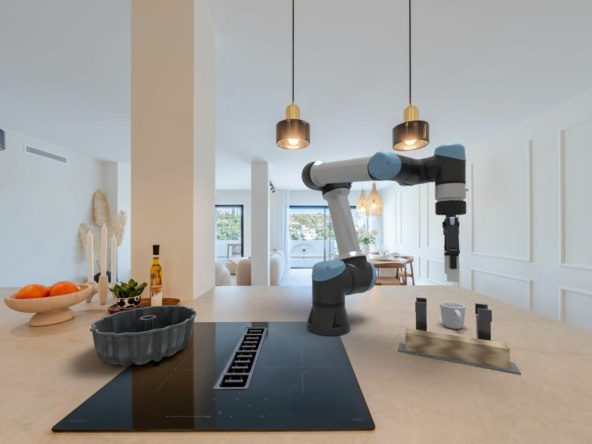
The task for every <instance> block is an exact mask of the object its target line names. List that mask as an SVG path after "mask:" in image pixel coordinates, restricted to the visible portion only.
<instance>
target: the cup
mask: <svg viewBox="0 0 592 444" xmlns="http://www.w3.org/2000/svg"><path fill="white" fill-rule="evenodd" d="M439 307H440V308H439V309H440V315H441V321H442V325H443V326H444V327H446V328H448V329H453V330H462V328H463V327H464V325H465V315H466V306H465V304H463V303H459V302H454V301H443V302H440V303H439Z"/></svg>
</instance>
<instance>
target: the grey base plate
mask: <svg viewBox="0 0 592 444" xmlns="http://www.w3.org/2000/svg"><path fill="white" fill-rule="evenodd" d="M397 352H399V353H405V354H410V355H416V356H421V357H426V358H431V359H436V360H441V361H446V362H447V361H448V362H452V363H458V364H462V365H467V366H468V365H469V366H474V367H479V368H483V369H490V370H493V371H494V370H495V371H500V372H505V373H512V374H516V375H522V372H521V371H520V369H519V367H518V366H517V365H516V363H515V362H513V361H510V369H504V368H499V367H493V366H488V365H483V364H477V363H472V362H466V361H461V360H455V359H450V358H445V357H439V356H434V355H428V354H423V353H418V352H412V351H407V350H405V343H404V342H399V343H398V347H397Z"/></svg>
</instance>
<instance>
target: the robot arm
mask: <svg viewBox="0 0 592 444" xmlns="http://www.w3.org/2000/svg"><path fill="white" fill-rule="evenodd" d="M466 163H467V159H466V147H465V146H464V145H463V144H461V143H457V142H455V143H454V142H453V143H452V142H451V143H446V144H445V143H444V144H441V145H439V146H437V147H436V148H434V153H433V155H431V156H428V157H424V158H418V159H417V158H414V157H409V156H405V155H402V154H398V153H395V152H392V151H386V150H385V151H384V150H380V151H378V152H376V153H374V154H373V155H372V156H370V155H369V156H363V157H358V158H350V159H344V160H343V159H342V160H336V161H328V162H325V161H323V160H317V161H316V160H315V161H310V162H308V163H307V164H306V165H305V166H304V167H303V168H302V171H301V181H302V183H303V185H304V186H305V187H307V188H308V189H310V190H312V191H317V192H321V195H322V198H323V200H324V201H326V202H327V205H328V206H327V207H328V210H329V215H330V219H331V223H332V229H333V233H334V238H335V242H336V243H335V244H336V247H337V251H338V255H339V256H338V258H337V259H331V260H330V259H329V260H323V261H319V262H317V263H315V264H314V265H313V267H312V271H311V272H312V273H311V308H310V311H309V314H308V317H307V321H306V328H307V330H308V331H309V332H311V333H314V334H316V335H319V336H330V337H334V336H342V335H346V334H347V333H349V332H350V331H351V321H350V318H349V315H348V312H347V309H346V297H347V296H350V295H356V294H363V293H366V292H369V291H371V290H373V288H374V286H375V284H376V283H377V281H378V280H377V278H378V275H377V274H378V273H377V270H376V267H375V265H374V264H372V263H371V262H369V261H368V258H367V255H366V253H363V252H362V251H361V247H360V246H361V245H360V243H359V239H358V236H357V235H358V234H357V230H356V225H355V222H354V218H353V214H352V209H351V206H350V205H351V204H350V202H349V201H350V200H349V197H348V196H349V195H350V193H351V188H352V187H353V183H359V182H374V181H375V182H381V181H382V182H384V181H391V182H396V183H397V184H398V185H400V186H401V187H407V186H408V187H409V186H410V187H413V186H416V185H423V184H429V183H434V200H435V201H436V202H435V203H434V206H435V207H434V210H435V211H434V212H435V215H436V216H445V218H444V220H443V221H442V224H441V225H442V226H441V227H442V233H443V235H444V237H443V239H444V244H443V248H444V250H443V251H444V252H443V257H444V259H443V261H444V262H443V263H444V264H443V265H444V274H445V275H446V282H448V283H449V282H450V283H460V253H461V250H460V239H459V235H460V221H459V217H458V216H464V215H466V214H467V201H465V199H466V198H467V192H468V191H470V190H469V188H468V187H467V186H466V184H467V183H466V182H467V180H466V178H467V175H466V174H467V172H466V171H467V164H466Z"/></svg>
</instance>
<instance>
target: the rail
mask: <svg viewBox="0 0 592 444" xmlns="http://www.w3.org/2000/svg"><path fill="white" fill-rule="evenodd" d="M404 334H405V338H404V339H405V343H404V344H405V350H407V351H412V352H418V353H423V354H428V355H434V356H439V357H445V358H450V359H455V360H461V361H466V362H472V363H477V364H483V365H488V366H493V367H499V368H504V369H510V362H511V354H510V353H511V352H510V347H509V346H508V345H507V343H506V342H502V341H501V342H500V341H495V340H491V341H489V340H482V339H477V337H467V336H462V335H455V334H447V333H443V332H442V333H440V332H434V331H428V330H427V331H422V330H416V328H415V329H414V328H408V327H407V328H405V332H404Z"/></svg>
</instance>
